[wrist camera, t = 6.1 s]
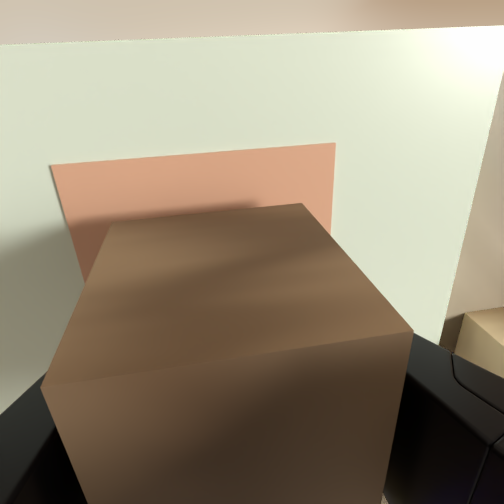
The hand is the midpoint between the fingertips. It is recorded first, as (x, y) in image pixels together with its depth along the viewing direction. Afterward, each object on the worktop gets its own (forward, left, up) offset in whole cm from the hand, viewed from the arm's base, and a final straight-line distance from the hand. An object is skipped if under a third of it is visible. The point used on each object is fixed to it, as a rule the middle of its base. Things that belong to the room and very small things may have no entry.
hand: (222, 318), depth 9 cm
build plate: (0, 0, -3) cm, 3 cm away
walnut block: (0, 0, -1) cm, 1 cm away
